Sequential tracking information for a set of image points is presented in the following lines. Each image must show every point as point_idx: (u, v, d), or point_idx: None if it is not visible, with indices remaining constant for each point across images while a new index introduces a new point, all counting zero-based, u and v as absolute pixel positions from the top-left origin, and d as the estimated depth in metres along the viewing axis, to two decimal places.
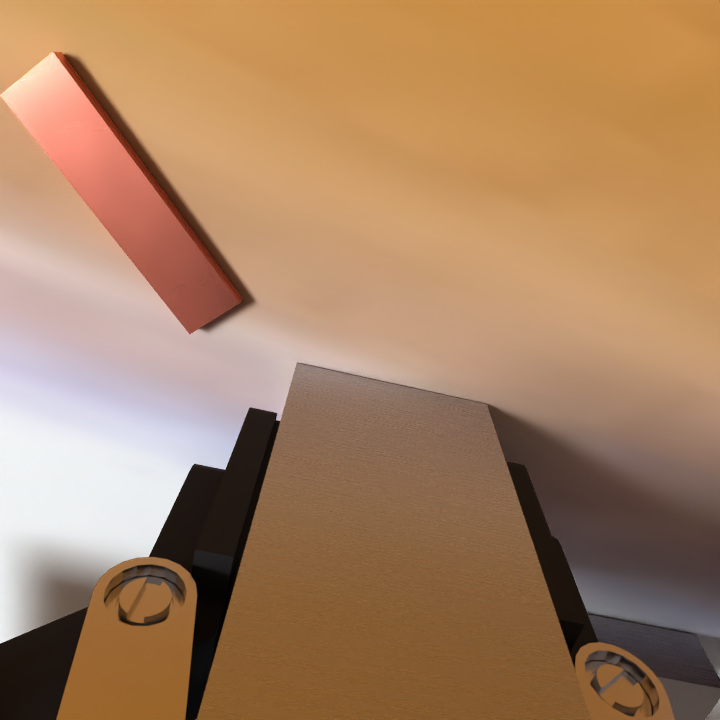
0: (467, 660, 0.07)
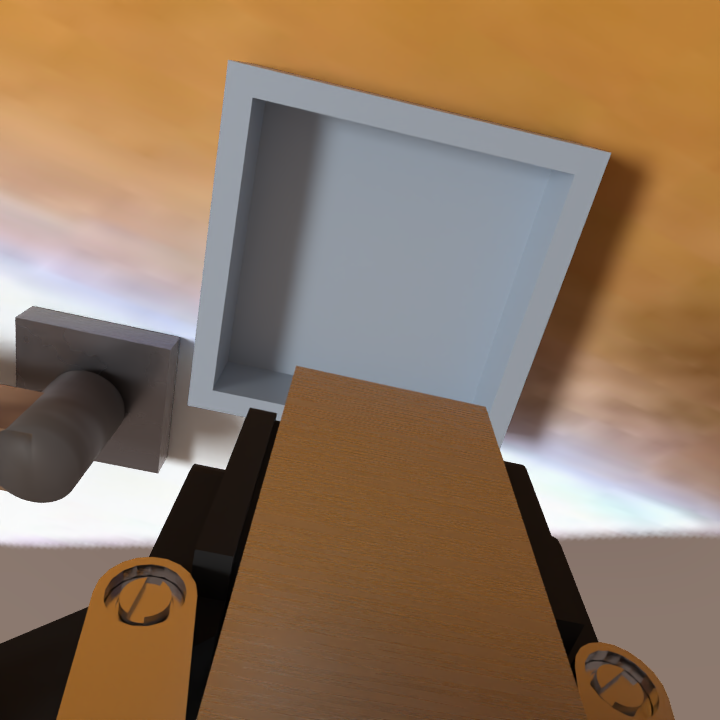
0: (466, 664, 0.07)
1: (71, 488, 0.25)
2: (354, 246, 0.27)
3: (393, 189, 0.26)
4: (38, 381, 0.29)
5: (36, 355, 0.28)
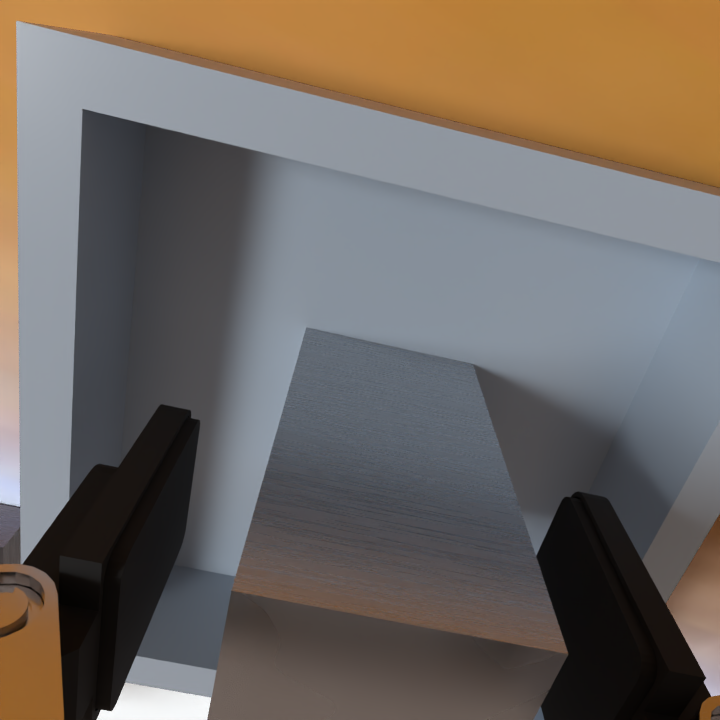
0: (447, 538, 0.09)
1: None
2: None
3: (400, 280, 0.14)
4: None
5: None
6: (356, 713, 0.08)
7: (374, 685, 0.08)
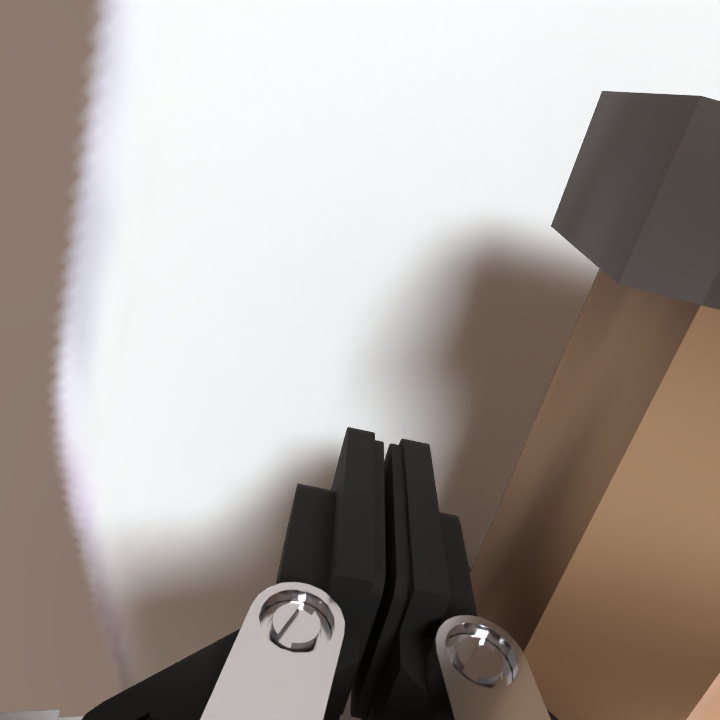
0: None
1: None
2: None
3: None
4: None
5: None
6: None
7: None
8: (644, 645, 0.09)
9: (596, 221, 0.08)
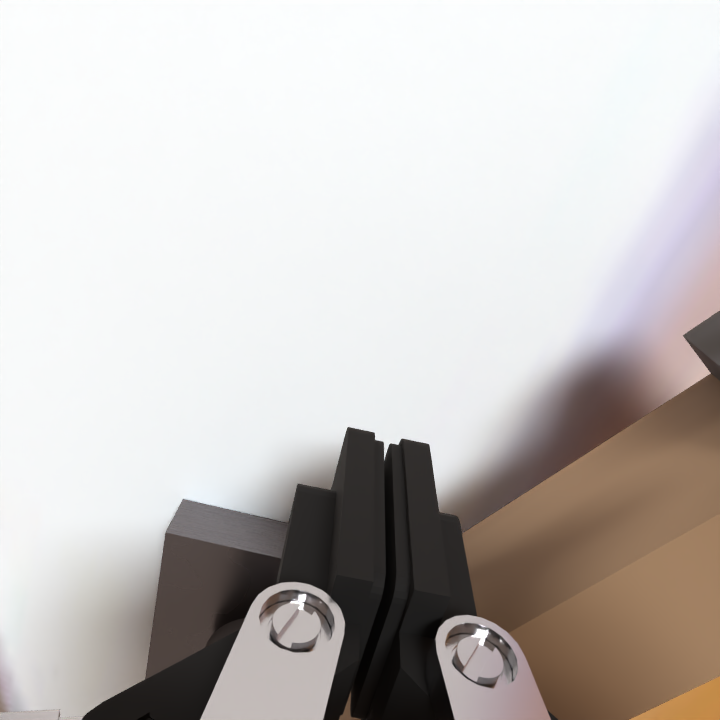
0: None
1: None
2: None
3: None
4: None
5: None
6: None
7: None
8: (571, 686, 0.11)
9: None
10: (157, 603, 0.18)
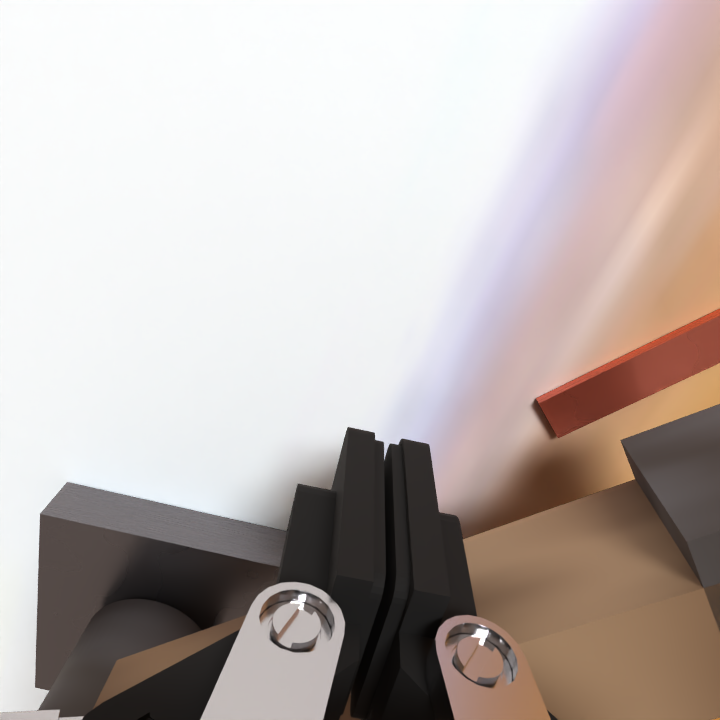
0: None
1: None
2: None
3: None
4: (177, 574, 0.17)
5: (224, 580, 0.17)
6: None
7: None
8: None
9: (679, 482, 0.10)
10: (39, 586, 0.18)
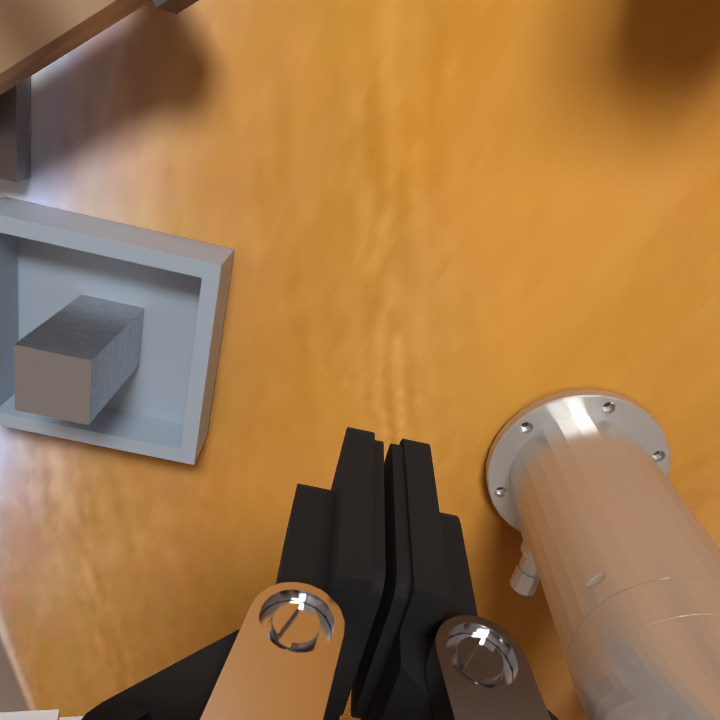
0: (101, 391, 0.35)
1: None
2: None
3: (166, 339, 0.40)
4: None
5: None
6: (58, 384, 0.33)
7: (69, 388, 0.33)
8: (28, 12, 0.27)
9: None
10: None
